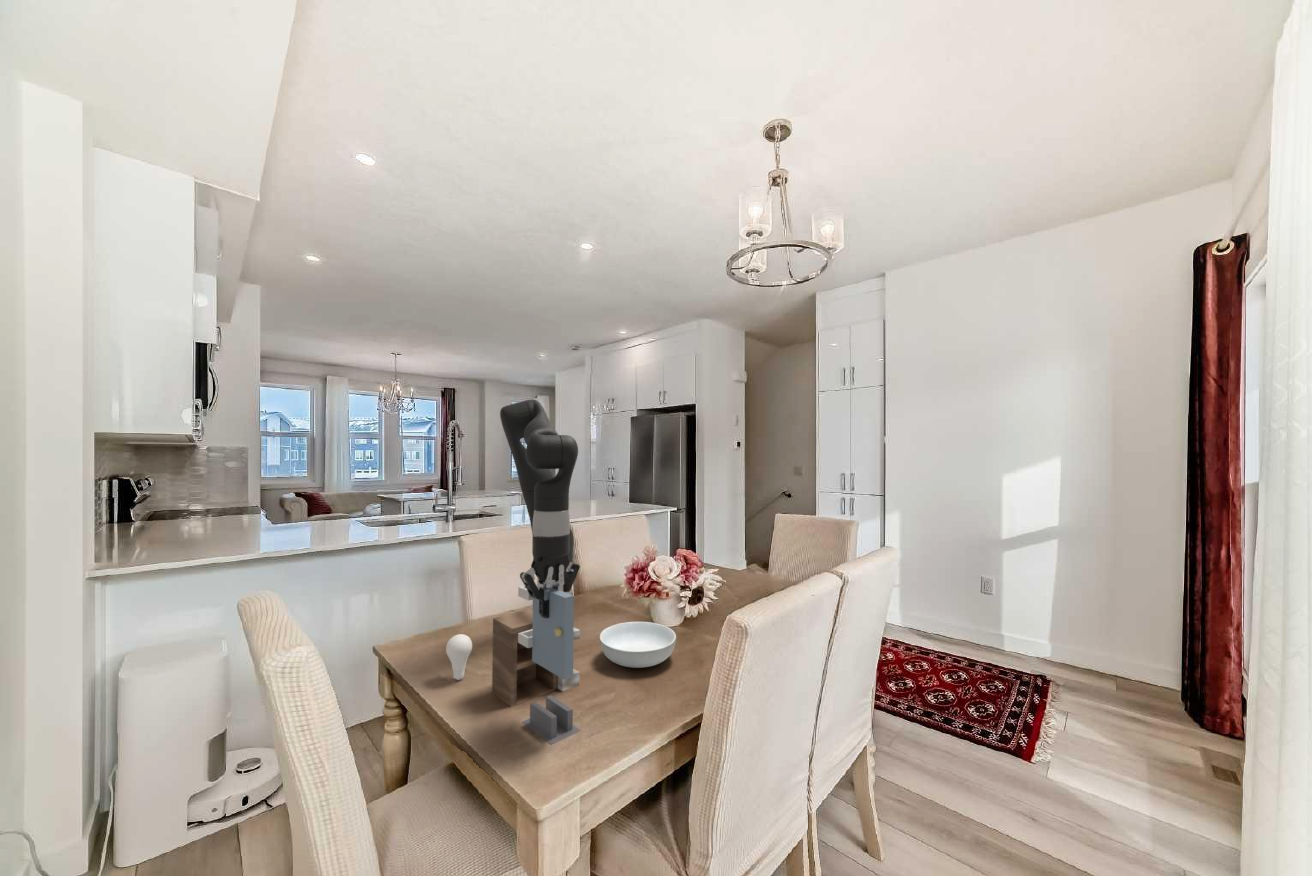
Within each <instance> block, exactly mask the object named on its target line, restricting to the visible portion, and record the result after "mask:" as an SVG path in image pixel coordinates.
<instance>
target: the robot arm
mask: <svg viewBox="0 0 1312 876" xmlns="http://www.w3.org/2000/svg"><path fill="white" fill-rule="evenodd" d="M499 417H500V421H501V422H500V423H501V426H502V430H503V432H504V435H505V438H506V441H507V442H508V443H507V444H508V446H509V449H510V452H511V455H512V458H513V461H514V465H515V469H516V472H517V476H518V477H517V478H518V481H519V482H518V483H519V487H520V489H521V490H520V491H521V494H522V496H523V500H524V503H525V507H526V509H527V514H528V517H529V522H530V528H531V529H530V530H531V534H532V539H531V540H532V542H531V543H532V546H531V547H532V549H531V550H532V551H531V552H532V562H531V564H530V565H531V566H530V568H529V569H528V570H527V571H525V572H524V571H523V572H520V574H519V578H520V580H521V581H522V583H523V586H525V587H526V589H527V591H528V593H529V594H530V596H531V597H534V598H536V599H539V614H540V615H541V617H543V618H545V619H546V618H549V600H548V599H549V591H550V588H551V587H552V588H555V589H557V590H560V591H563V592H565V593H568V594H571V595H572V587H573V585H574V584H575V580H576V578H577V575H578V574H579V571H580V568H581V565H580V564H577V563H575V562H573V561H574V560H573V555H574V533H573V531H572V529H571V528H570V527H571V521H570V509H569V507H570V506H569V505H570V504H569V503H570V502H569V501H570V500H569V499H570V497H569V496H570V487H571V481H572V480H571V479H572V476H573V473H574V469H575V467H576V463H577V460H578V455H579V447H578V442H577V441H576V439H575V438H574V437H573V436H572V435H568V434H558V432H557V430H555V429H554V428H553V426H551V421H550V420H549V417H548V415H547V413H546V411H545V409H544V407H543V405H542V403H541V402H540V401H539V400H537V399H533V398H532V399H527V400H523V401H519V402H516V403H511V404H508V405H505V406H503V407H501V409H500V412H499ZM522 439H523V440H524V442H525V444H526V447H525V446H524V445H523V443H522V441H521V440H522ZM551 470H558V472H557V473H556V475H555V476H554V475H553V472H552V471H551ZM535 576H536V577H535ZM536 578H537V580H536ZM535 580H536V581H535ZM536 582H537V583H536ZM535 583H536V584H537V586H538V588H537V586H536V584H535Z"/></svg>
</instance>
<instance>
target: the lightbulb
mask: <svg viewBox="0 0 1312 876" xmlns="http://www.w3.org/2000/svg"><path fill="white" fill-rule="evenodd" d="M472 650H473V642H472V640H471V637H469V636H468V635H466V634H463V633H461V634H460V633H458V634H455V635H454V636H452V637H450V639H449V640H448V641H447V644H446V645H445V653H446V655H447V657H448V658H449V661H450V663H451V669H452V673H453V674H452V677H453V679H455V680H456V681H461V680H462V679H463V678H464V677H465V672H466V671H465V669H466V667H467V661H468V658H469V657H470V654H471V653H472Z"/></svg>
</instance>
